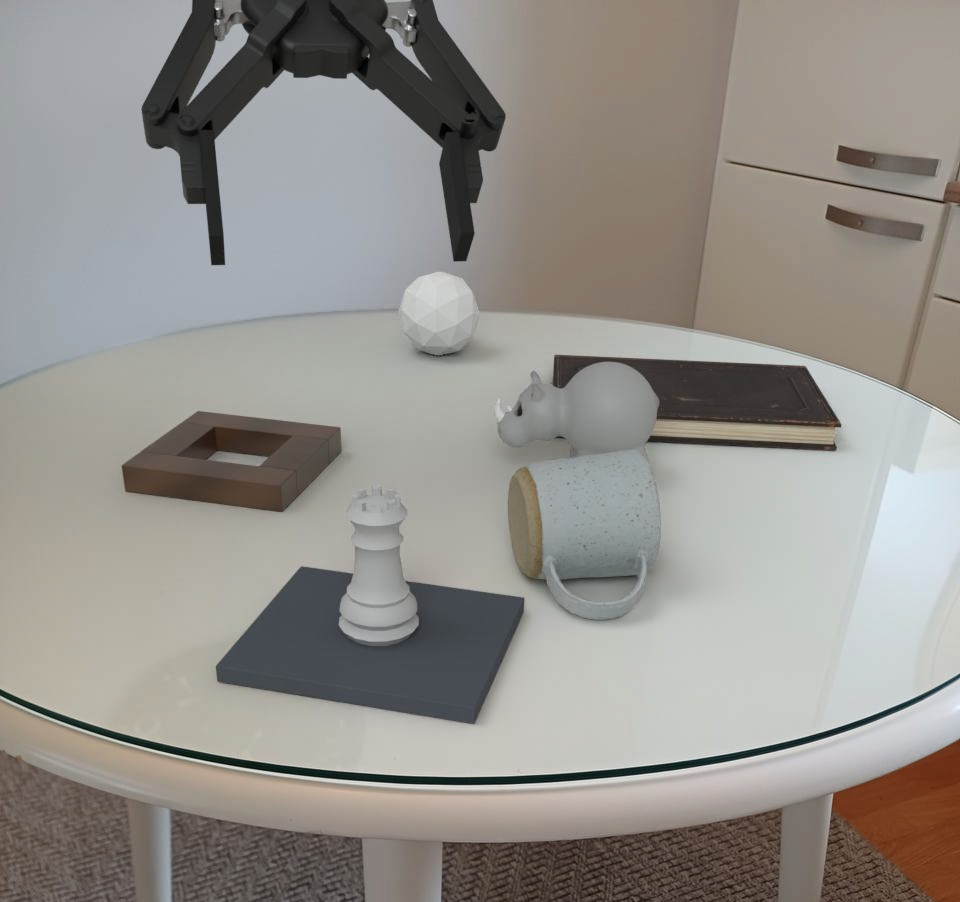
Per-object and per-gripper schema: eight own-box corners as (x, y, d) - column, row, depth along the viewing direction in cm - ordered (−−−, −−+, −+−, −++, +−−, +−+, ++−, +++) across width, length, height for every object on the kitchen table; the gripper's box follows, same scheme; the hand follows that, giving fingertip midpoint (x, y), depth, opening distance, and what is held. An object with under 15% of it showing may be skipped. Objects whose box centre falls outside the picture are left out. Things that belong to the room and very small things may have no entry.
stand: (124, 491, 80) (120, 465, 79) (200, 434, 90) (197, 410, 89) (282, 512, 78) (280, 485, 77) (341, 451, 88) (341, 426, 87)
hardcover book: (836, 450, 91) (841, 423, 89) (551, 437, 92) (552, 409, 90) (800, 388, 104) (804, 363, 103) (552, 376, 105) (554, 352, 104)
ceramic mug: (500, 549, 74) (505, 438, 69) (619, 540, 75) (630, 431, 71) (541, 632, 65) (550, 511, 61) (675, 620, 66) (692, 501, 62)
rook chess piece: (349, 606, 65) (344, 475, 60) (425, 612, 64) (426, 482, 60) (329, 645, 61) (323, 509, 57) (411, 653, 60) (410, 516, 56)
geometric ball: (447, 385, 111) (443, 334, 104) (386, 343, 113) (378, 290, 106) (495, 335, 113) (495, 282, 106) (435, 295, 115) (430, 240, 108)
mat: (216, 681, 59) (215, 665, 59) (301, 580, 69) (301, 565, 69) (474, 724, 56) (474, 708, 56) (524, 612, 67) (524, 597, 66)
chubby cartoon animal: (492, 453, 88) (496, 345, 84) (645, 458, 88) (656, 350, 84) (491, 489, 82) (495, 375, 78) (655, 495, 82) (668, 381, 78)
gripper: (495, -9, 73) (544, 282, 68) (94, -24, 68) (116, 291, 63) (521, -112, 66) (577, 206, 61) (74, -137, 61) (97, 208, 56)
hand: (343, 250), depth 62 cm, fingers open, 13 cm apart
